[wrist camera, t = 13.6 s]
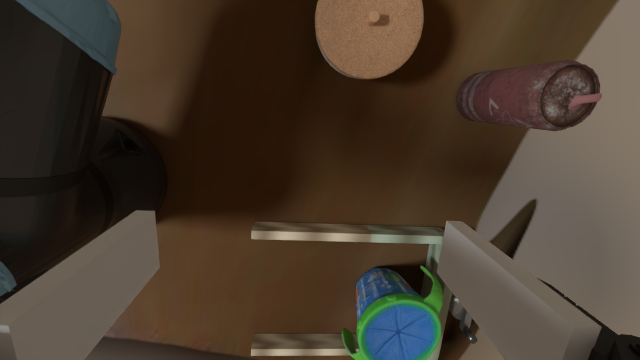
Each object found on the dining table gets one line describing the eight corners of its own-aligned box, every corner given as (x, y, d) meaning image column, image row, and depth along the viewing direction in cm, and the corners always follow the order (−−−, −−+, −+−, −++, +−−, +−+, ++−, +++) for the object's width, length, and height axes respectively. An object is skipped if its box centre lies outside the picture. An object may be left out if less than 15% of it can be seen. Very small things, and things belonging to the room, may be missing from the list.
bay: (254, 339, 47) (247, 373, 41) (254, 221, 41) (247, 241, 36) (419, 339, 49) (435, 371, 43) (440, 227, 44) (461, 246, 38)
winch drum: (432, 307, 47) (455, 343, 41) (439, 273, 46) (464, 304, 39) (462, 308, 48) (490, 343, 41) (470, 273, 46) (500, 304, 39)
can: (501, 115, 40) (605, 124, 26) (455, 124, 40) (536, 137, 26) (501, 68, 38) (611, 52, 25) (453, 77, 38) (538, 66, 24)
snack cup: (403, 233, 44) (433, 272, 34) (437, 281, 46) (475, 330, 36) (318, 291, 45) (323, 344, 35) (356, 334, 48) (371, 394, 38)
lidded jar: (416, 24, 36) (455, -1, 27) (364, 99, 38) (385, 100, 29) (345, -35, 34) (361, -83, 25) (294, 48, 36) (293, 32, 27)
